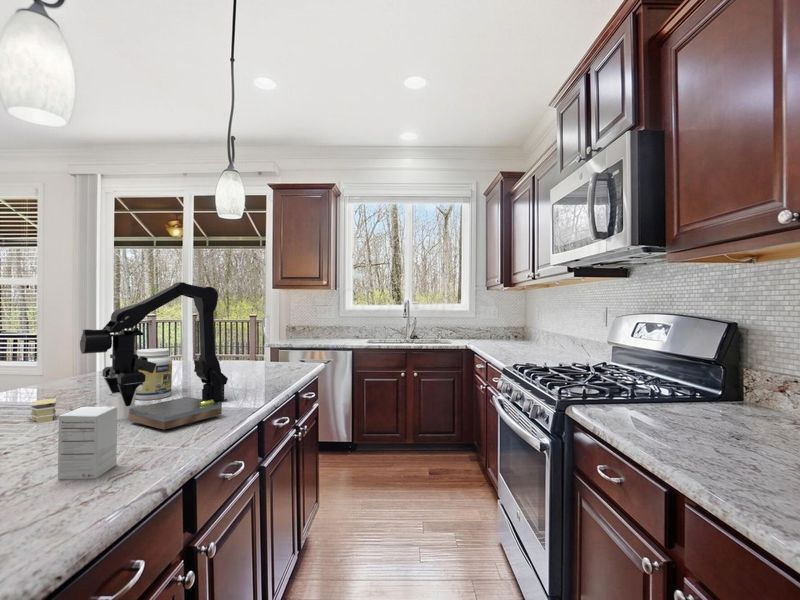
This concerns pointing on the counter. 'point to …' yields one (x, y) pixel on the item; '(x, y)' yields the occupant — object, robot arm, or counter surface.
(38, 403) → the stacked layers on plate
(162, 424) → the brown wooden board
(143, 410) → the levelling plate
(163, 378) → the supplement tub
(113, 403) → the white cup
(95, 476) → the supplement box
